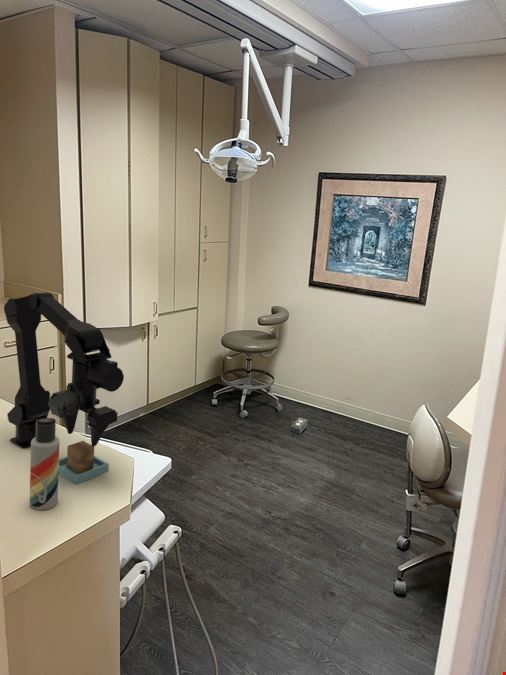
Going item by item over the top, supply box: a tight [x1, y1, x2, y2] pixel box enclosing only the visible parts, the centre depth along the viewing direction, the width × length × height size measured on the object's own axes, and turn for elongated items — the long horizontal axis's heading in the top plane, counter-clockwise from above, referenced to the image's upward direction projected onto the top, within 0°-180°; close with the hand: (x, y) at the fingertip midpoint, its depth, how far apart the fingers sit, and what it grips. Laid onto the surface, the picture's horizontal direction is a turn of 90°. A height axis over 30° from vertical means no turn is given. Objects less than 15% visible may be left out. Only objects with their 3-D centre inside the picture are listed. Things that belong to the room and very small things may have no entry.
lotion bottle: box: [29, 417, 61, 511], centre depth 108 cm, size 6×6×20 cm
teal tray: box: [58, 455, 110, 486], centre depth 125 cm, size 10×10×2 cm
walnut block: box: [66, 440, 95, 474], centre depth 124 cm, size 4×4×6 cm
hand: (81, 439), depth 123 cm, fingers open, 9 cm apart
